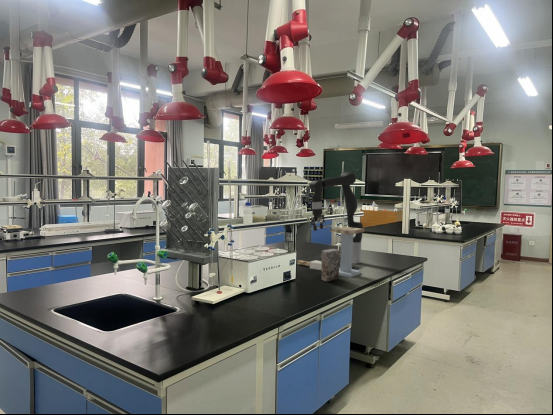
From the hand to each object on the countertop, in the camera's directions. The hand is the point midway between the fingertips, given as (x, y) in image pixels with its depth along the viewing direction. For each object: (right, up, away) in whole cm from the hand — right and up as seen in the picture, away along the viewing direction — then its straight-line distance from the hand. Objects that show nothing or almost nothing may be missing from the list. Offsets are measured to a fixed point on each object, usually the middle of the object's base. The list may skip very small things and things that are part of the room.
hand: (318, 229), depth 283 cm
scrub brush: (-5, -29, +7) cm, 30 cm away
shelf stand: (+18, -31, -10) cm, 37 cm away
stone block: (+5, -32, -28) cm, 43 cm away
